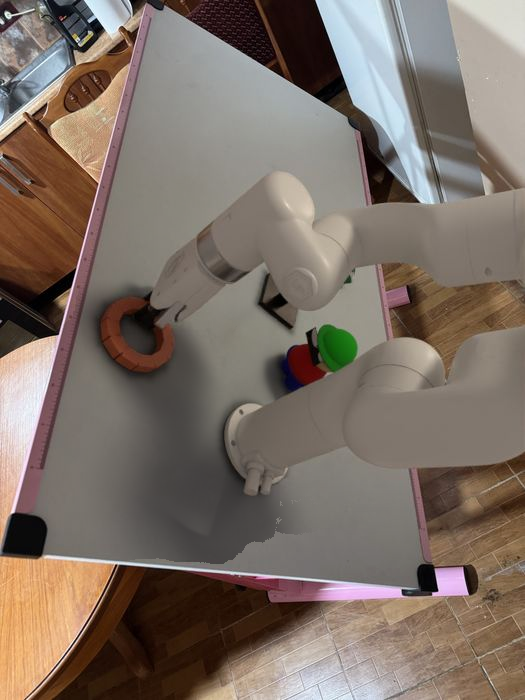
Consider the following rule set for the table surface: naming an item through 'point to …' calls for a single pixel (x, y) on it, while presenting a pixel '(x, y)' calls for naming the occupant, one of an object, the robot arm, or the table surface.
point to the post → (277, 303)
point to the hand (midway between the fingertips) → (145, 315)
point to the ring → (119, 346)
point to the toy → (318, 356)
